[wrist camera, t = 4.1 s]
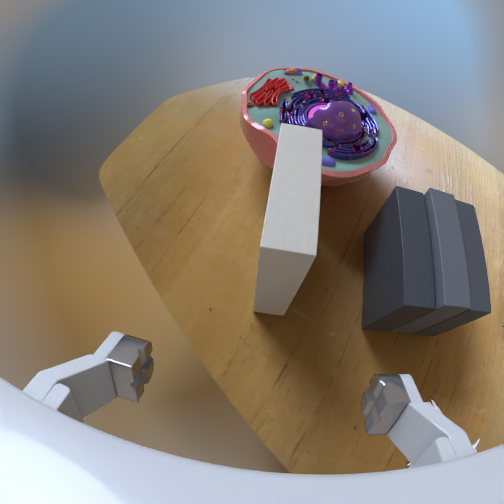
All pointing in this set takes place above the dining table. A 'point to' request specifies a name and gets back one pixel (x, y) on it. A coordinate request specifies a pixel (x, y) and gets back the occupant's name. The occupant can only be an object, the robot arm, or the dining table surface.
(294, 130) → the white book
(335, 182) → the cell model
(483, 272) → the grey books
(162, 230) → the dining table surface
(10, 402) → the robot arm
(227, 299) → the dining table surface
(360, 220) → the dining table surface
